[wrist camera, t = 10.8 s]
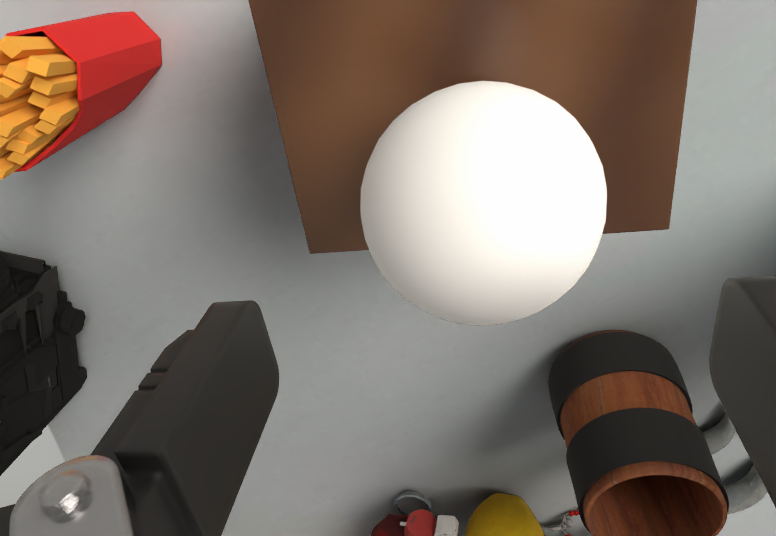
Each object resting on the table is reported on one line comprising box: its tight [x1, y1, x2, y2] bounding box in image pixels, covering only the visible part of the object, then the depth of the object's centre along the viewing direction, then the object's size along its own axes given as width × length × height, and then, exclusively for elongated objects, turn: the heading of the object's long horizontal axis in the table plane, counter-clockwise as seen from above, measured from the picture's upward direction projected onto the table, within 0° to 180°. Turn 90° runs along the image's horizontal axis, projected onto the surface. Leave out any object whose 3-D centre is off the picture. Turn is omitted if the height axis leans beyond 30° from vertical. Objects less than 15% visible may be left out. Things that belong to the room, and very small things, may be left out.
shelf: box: [249, 0, 697, 254], centre depth 26 cm, size 15×11×11 cm
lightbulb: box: [360, 81, 607, 326], centre depth 17 cm, size 6×6×11 cm
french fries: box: [0, 12, 162, 179], centre depth 28 cm, size 8×4×12 cm, turn 132°
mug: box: [548, 330, 729, 536], centre depth 37 cm, size 9×12×12 cm
